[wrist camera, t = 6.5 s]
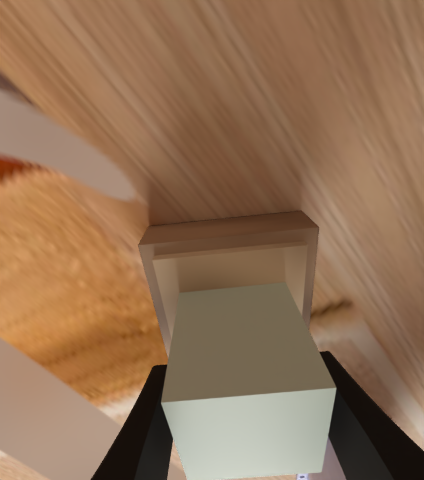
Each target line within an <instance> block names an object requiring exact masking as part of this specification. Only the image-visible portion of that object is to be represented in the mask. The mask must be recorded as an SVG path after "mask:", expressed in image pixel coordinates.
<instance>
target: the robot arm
mask: <svg viewBox="0 0 424 480" xmlns="http://www.w3.org/2000/svg"><path fill="white" fill-rule="evenodd" d="M319 353H320V355H321V357H322V359H323V361H324V363H325V365H326V367H327V369H328V371H329V373H330V375H331V377H332V379H333V382H334V384H335V386H336V394H335V399H334V405H333V411H332V416H331V422H330V428H329V433H328V439H327V445H326V450H325V456H324V461H323V467H322V472H319V473H305V474H296V480H424V451H423V450H422V449H421V448H420V447H419V446H418V445H417V444H416V443H415V442H414V441H413V440H411V439H410V438H409V437H408V436H407V435H406V434H405V433H404V432H403V431H402V430H401V429H400V428H399V427H398V426H397V425H396V424H395V423H394V422H393V421H392V420H391V419H390V418H389V417H388V416H387V415H386V414H385V413H384V412H383V411H382V410H381V408H380V407H379V406H378V405H377V404H376V403H375V402H374V401H373V400H372V399H371V398H370V397H369V396H368V395H367V394H366V393H365V391H364V390H363V389H362V388H361V387H360V386H359V385H358V384H357V383H356V382H355V380H354V379H353V378H352V377H351V376H350V375H349V374H348V373H347V371H346V370H345V369H344V368H343V367H342V366H341V364H340V363H339V362H338V361H337V360H336V359H335V357H334V356H333V355H332V354H331V353H330V352H329V351H324V352H319ZM166 370H167V365H156V366H154V367H153V368H152V370H151V372H150V374H149V376H148V378H147V381H146V383H145V385H144V387H143V389H142V391H141V393H140V395H139V397H138V399H137V401H136V403H135V405H134V407H133V409H132V410H131V412H130V414H129V416H128V418H127V420H126V422H125V423H124V425H123V427H122V429H121V431H120V432H119V434H118V436H117V437H116V439H115V441H114V443H113V444H112V446H111V448H110V449H109V451H108V453H107V455H106V456H105V458H104V460H103V461H102V463H101V464H100V466H99V468H98V469H97V471H96V472H95V474H94V475H93V477H92V478H91V480H167V476H168V469H169V462H170V456H171V449H172V443H173V436H172V433H171V431H170V428H169V425H168V422H167V419H166V416H165V413H164V410H163V407H162V404H161V400H162V394H163V388H164V382H165V376H166Z"/></svg>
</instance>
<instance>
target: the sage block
mask: <svg viewBox="0 0 424 480" xmlns="http://www.w3.org/2000/svg"><path fill="white" fill-rule="evenodd" d="M335 394H336V386H335V384H334V382H333V379H332V377H331V375H330V373H329V371H328V369H327V367H326V365H325V363H324V361H323V359H322V357H321V355H320V353H319V351H318V348H317V346H316V344H315V342H314V340H313V338H312V336H311V334H310V332H309V330H308V328H307V326H306V324H305V322H304V319H303V317H302V315H301V313H300V311H299V309H298V307H297V305H296V303H295V301H294V299H293V297H292V295H291V293H290V291H289V288H288V286H287V284H286V282H282V283H272V284H262V285H252V286H242V287H232V288H222V289H213V290H203V291H193V292H183V293H179V298H178V304H177V310H176V316H175V322H174V328H173V334H172V340H171V346H170V352H169V358H168V364H167V370H166V376H165V382H164V388H163V394H162V400H161V404H162V407H163V410H164V413H165V416H166V419H167V422H168V425H169V428H170V431H171V433H172V436H173V439H174V442H175V445H176V448H177V451H178V454H179V457H180V460H181V463H182V466H183V469H184V472H185V474H186V477H187V480H223V479H237V478H250V477H264V476H278V475H292V474H305V473H319V472H322V467H323V461H324V456H325V450H326V445H327V439H328V433H329V428H330V422H331V416H332V411H333V405H334V399H335Z"/></svg>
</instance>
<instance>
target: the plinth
mask: <svg viewBox="0 0 424 480" xmlns="http://www.w3.org/2000/svg"><path fill="white" fill-rule="evenodd" d="M318 234H319V227H318V226H317V225H316V224H315V223H314V222H313V221H312V220H311V219H310V218H309V217H308V216H307V215H306V214H305V213H304V212H302V211H294V212H284V213H274V214H264V215H254V216H245V217H235V218H225V219H215V220H205V221H195V222H185V223H176V224H166V225H156V226H149V227H148V229H147V230H146V232H145V234H144V236H143V237H142V239H141V241H140V243H139V244H138V247H139V251H140V255H141V258H142V262H143V266H144V270H145V273H146V277H147V281H148V285H149V288H150V292H151V296H152V300H153V304H154V307H155V311H156V315H157V319H158V322H159V326H160V330H161V334H162V337H163V341H164V345H165V349H166V352H167V356H168V358H169V352H170V346H171V340H172V334H173V328H174V322H175V316H176V310H177V304H178V298H179V293H183V292H193V291H203V290H213V289H222V288H232V287H242V286H252V285H262V284H272V283H282V282H286V284H287V286H288V288H289V291H290V293H291V295H292V297H293V299H294V301H295V303H296V305H297V307H298V309H299V311H300V313H301V315H302V317H303V319H304V322H305V324H306V326H307V328H308V330H309V325H310V315H311V305H312V295H313V285H314V275H315V265H316V254H317V244H318Z"/></svg>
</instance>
